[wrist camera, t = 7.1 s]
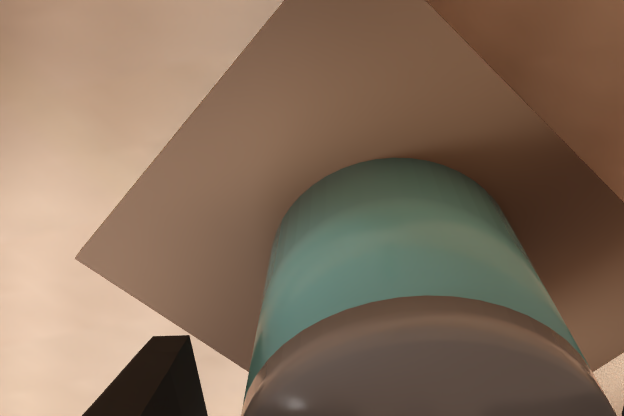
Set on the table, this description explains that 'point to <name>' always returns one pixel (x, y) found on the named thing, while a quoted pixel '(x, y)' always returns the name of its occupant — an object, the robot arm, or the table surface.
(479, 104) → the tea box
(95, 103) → the table surface
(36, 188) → the table surface
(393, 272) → the cylinder
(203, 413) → the robot arm
